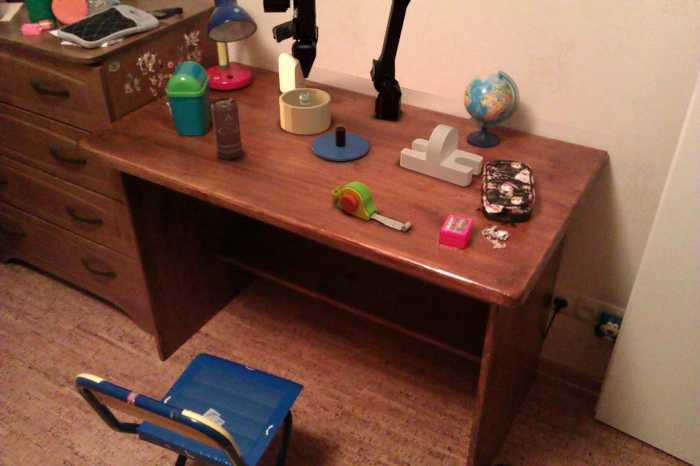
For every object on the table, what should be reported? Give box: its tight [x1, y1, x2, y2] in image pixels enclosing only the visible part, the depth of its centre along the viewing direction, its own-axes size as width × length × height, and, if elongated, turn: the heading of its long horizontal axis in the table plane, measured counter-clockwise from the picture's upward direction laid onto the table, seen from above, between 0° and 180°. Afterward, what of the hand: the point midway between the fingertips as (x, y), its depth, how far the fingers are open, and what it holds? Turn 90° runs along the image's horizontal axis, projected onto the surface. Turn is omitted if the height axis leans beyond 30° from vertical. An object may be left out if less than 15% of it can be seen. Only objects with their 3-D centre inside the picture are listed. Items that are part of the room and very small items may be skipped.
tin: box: [278, 87, 332, 136], centre depth 164 cm, size 14×14×8 cm
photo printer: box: [278, 52, 307, 94], centre depth 179 cm, size 10×4×12 cm, turn 36°
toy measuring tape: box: [331, 180, 412, 233], centre depth 128 cm, size 6×19×7 cm, turn 55°
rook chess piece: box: [299, 92, 311, 107], centre depth 164 cm, size 4×4×8 cm
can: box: [211, 97, 243, 161], centre depth 147 cm, size 6×6×14 cm
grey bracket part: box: [399, 123, 484, 187], centre depth 144 cm, size 10×18×11 cm, turn 56°
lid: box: [311, 126, 370, 162], centre depth 153 cm, size 15×15×6 cm
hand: (306, 71), depth 163 cm, fingers open, 9 cm apart
